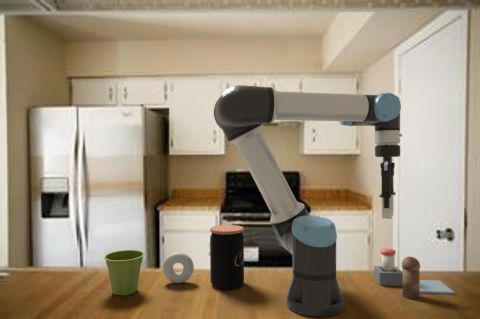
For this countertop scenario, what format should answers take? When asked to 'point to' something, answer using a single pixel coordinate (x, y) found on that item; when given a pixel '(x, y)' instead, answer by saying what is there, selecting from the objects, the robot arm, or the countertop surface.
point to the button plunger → (388, 260)
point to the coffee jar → (227, 256)
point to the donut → (178, 276)
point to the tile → (434, 287)
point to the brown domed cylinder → (411, 278)
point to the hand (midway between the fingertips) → (387, 216)
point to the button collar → (388, 277)
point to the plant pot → (124, 270)
